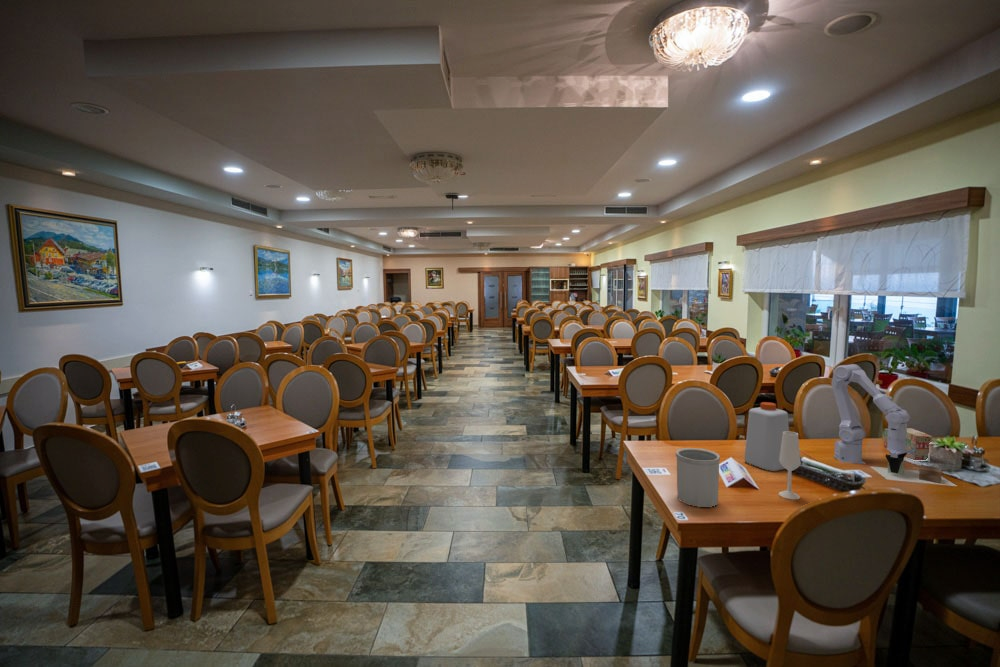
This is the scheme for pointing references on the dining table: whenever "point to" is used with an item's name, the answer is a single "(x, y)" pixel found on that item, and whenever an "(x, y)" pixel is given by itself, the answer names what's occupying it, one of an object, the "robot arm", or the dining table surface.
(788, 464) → the champagne flute
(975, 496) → the dining table surface
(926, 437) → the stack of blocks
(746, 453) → the plastic bottle
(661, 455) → the dining table surface
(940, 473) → the walnut base block
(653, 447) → the dining table surface
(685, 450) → the utensil holder
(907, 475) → the white flat sheet
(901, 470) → the green block
